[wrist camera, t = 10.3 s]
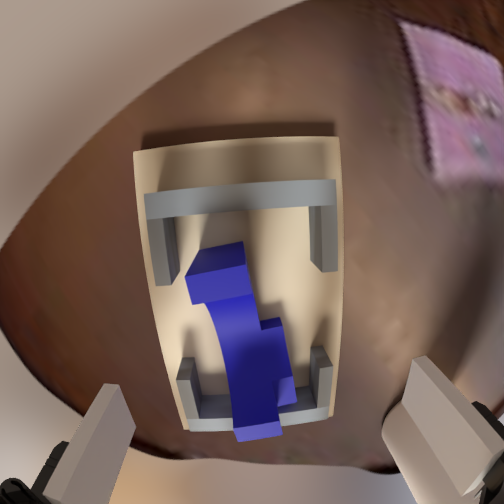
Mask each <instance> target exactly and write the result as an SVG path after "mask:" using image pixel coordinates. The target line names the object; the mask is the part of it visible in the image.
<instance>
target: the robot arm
mask: <svg viewBox="0 0 504 504" xmlns="http://www.w3.org/2000/svg"><path fill="white" fill-rule="evenodd" d="M401 403H402V404H403V406H404V407H405V409H406V410H407V412H408V413H409V415H410V416H411V418H412V419H413V421H414V422H415V424H416V425H417V427H418V428H419V430H420V432H421V433H422V435H423V436H424V438H425V439H426V441H427V442H428V444H429V446H430V447H431V449H432V450H433V452H434V453H435V455H436V457H437V458H438V460H439V461H440V463H441V465H442V466H443V468H444V469H445V471H446V473H447V474H448V476H449V477H450V479H451V481H452V482H453V484H454V486H455V487H456V489H457V491H458V492H459V494H460V496H463V495H465V494H467V493H468V492H470V491H472V490H473V489H475V488H476V487H477V486H478V485H479V483H480V482H481V481H482V480H483V482H484V483H485V484H484V485H483V487H482V488H481V489H480V490H479V491H478V492H477V493H476V495H475V497H474V499H476V498H477V497H478V496H479V495H480V494H481V496H480V498H479V499H480V501H479V504H504V426H503V424H502V423H501V422H500V421H498V420H497V418H496V417H495V416H494V415H492V412H491V411H490V410H489V409H488V408H487V407H486V406H485V405H483V404H481V403H479V402H477V401H475V402H473V403H470V402H469V401H468V400H467V399H466V397H465V396H464V395H463V394H462V393H461V392H460V391H459V390H458V389H457V388H456V387H455V386H454V384H453V383H452V382H451V381H450V380H449V379H448V378H447V377H446V376H445V375H444V374H443V373H442V372H441V371H440V370H439V369H438V368H437V366H436V365H435V364H434V363H433V362H432V361H431V360H430V359H429V358H428V357H427V356H426V355H425V356H421V357H417V358H414V359H412V363H411V368H410V372H409V376H408V380H407V384H406V387H405V391H404V395H403V398H402V402H401ZM135 428H136V426H135V423H134V421H133V419H132V416H131V414H130V412H129V409H128V407H127V404H126V402H125V400H124V397H123V394H122V392H121V389H120V387H119V385H115V384H104V385H103V387H102V388H101V390H100V391H99V393H98V395H97V396H96V398H95V400H94V401H93V403H92V405H91V406H90V408H89V410H88V411H87V413H86V415H85V417H84V418H83V420H82V422H81V424H80V425H79V427H78V429H77V430H76V432H75V434H74V436H73V437H72V439H71V441H70V443H69V442H65V441H62V442H61V443H59V444H58V445H57V446H56V447H54V449H53V451H52V452H51V454H50V456H49V458H48V459H47V461H46V463H45V465H44V466H43V468H42V470H41V472H40V473H39V475H38V477H37V479H36V481H35V483H34V484H33V486H32V488H31V489H29V488H28V487H27V486H26V485H25V484H24V483H23V482H22V481H21V480H19V479H16V478H9V479H7V480H5V481H4V482H3V483H1V485H0V504H108V503H109V500H110V497H111V494H112V491H113V489H114V486H115V483H116V480H117V477H118V474H119V471H120V469H121V466H122V463H123V460H124V457H125V455H126V452H127V449H128V447H129V444H130V441H131V439H132V436H133V433H134V431H135Z"/></svg>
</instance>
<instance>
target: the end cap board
mask: <svg viewBox="0 0 504 504" xmlns="http://www.w3.org/2000/svg"><path fill="white" fill-rule="evenodd" d="M133 158H134V173H135V186H136V197H137V207H138V217H139V225H140V233H141V241H142V248H143V255H144V262H145V268H146V274H147V280H148V286H149V291H150V297H151V302H152V307H153V312H154V317H155V322H156V327H157V331H158V336H159V340H160V344H161V349H162V353H163V357H164V361H165V365H166V369H167V373H168V376H169V380H170V384H171V387H172V391H173V394H174V398H175V401H176V405H177V408H178V411H179V415H180V418H181V421H182V424H183V427H184V429H190V431H228V430H233V417H232V406H231V398H230V391H229V385H228V379H227V374H226V369H225V364H224V359H223V355H222V351H221V347H220V343H219V340H218V336H217V333H216V330H215V327H214V324H213V321H212V318H211V316H210V313H209V311H208V309H207V307H206V306H205V304H204V303H202V304H196V305H192V303H191V299H190V296H189V292H188V288H187V285H186V281H185V277H184V276H185V275H186V273H187V271H188V269H189V267H190V265H191V264H192V262H193V260H194V258H195V256H196V255H197V253H198V251H199V250H201V249H206V248H211V247H215V246H220V245H225V244H230V243H235V242H240V241H243V244H244V249H245V254H246V259H247V263H248V268H249V273H250V278H251V283H252V287H253V292H254V297H255V302H256V307H257V311H258V316H259V321H261V320H266V319H271V318H276V317H280V319H281V322H282V325H283V330H284V335H285V340H286V346H287V351H288V356H289V360H290V365H291V370H292V374H293V380H294V386H295V392H296V398H297V402H296V403H292V404H287V405H282V406H277V408H278V413H279V418H280V423H281V426H285V425H293V424H300V423H306V422H312V421H318V420H324V419H328V417H329V416H333V410H334V402H335V394H336V385H337V375H338V365H339V353H340V340H341V325H342V305H343V273H344V226H343V193H342V174H341V158H340V145H339V137H327V136H298V137H265V138H246V139H232V140H220V141H209V142H200V143H191V144H183V145H175V146H167V147H161V148H154V149H148V150H141V151H136V152H133Z"/></svg>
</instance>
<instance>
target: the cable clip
mask: <svg viewBox="0 0 504 504" xmlns="http://www.w3.org/2000/svg"><path fill="white" fill-rule="evenodd" d="M184 277H185V281H186V285H187V288H188V292H189V296H190V299H191V303H192V305H196V304H202V303H204V304H205V306H206V307H207V309H208V311H209V313H210V316H211V318H212V321H213V324H214V327H215V330H216V333H217V336H218V340H219V343H220V347H221V351H222V355H223V359H224V364H225V369H226V374H227V379H228V385H229V391H230V398H231V406H232V417H233V430H234V432H235V435H236V438H237V440H238V442H242V441H249V440H255V439H262V438H267V437H273V436H278V435H283V434H282V429H281V423H280V418H279V413H278V408H277V406H282V405H287V404H292V403H296V402H297V398H296V392H295V386H294V380H293V374H292V370H291V365H290V360H289V356H288V351H287V346H286V340H285V335H284V330H283V325H282V322H281V319H280V317H276V318H271V319H266V320H261V321H259V316H258V311H257V307H256V302H255V297H254V292H253V287H252V283H251V278H250V273H249V268H248V263H247V259H246V254H245V249H244V244H243V241H240V242H235V243H230V244H225V245H220V246H215V247H211V248H206V249H201V250H199V251H198V253H197V255H196V256H195V258H194V260H193V262H192V264H191V265H190V267H189V269H188V271H187V273H186V275H185V276H184Z"/></svg>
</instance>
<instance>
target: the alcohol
mask: <svg viewBox="0 0 504 504" xmlns="http://www.w3.org/2000/svg"><path fill="white" fill-rule="evenodd" d="M401 402H402V400H401V401H399V402H398V403H397V404H396V405H395V406H394V407H393V408H392V409H391V410H390V412H389V413H388V414H387V416H386V418H385V420H384V423H383V427H382V438H383V440H384V442H385V443H386V445H387V447H388V449H389V451H390V453H391V455H392V456H393V458H394V460H395V462H396V464H397V466H398V468H399V469H400V471H401V473H402V475H403V477H404V479H405V481H406V482H407V484H408V486H409V488H410V490H411V492H412V494H413V496H414V498H415V500H416V502H417V504H479V501H480V499H479V498H480V496H481V494H480V495H479V496H478V497H477V498H476V499H474V497H475V495H476V493H477V492H478V491H479V490H480V489H481V488H482V487H483V485H484V484H485V483H484V482H483V480H482V481H481V482H480V483H479V485H478V486H477V487H476V488H475V489H473V490H472V491H470V492H468V493H467V494H465V495H463V496H460V494H459V492H458V491H457V489H456V487H455V486H454V484H453V482H452V481H451V479H450V477H449V476H448V474H447V473H446V471H445V469H444V468H443V466H442V465H441V463H440V461H439V460H438V458H437V457H436V455H435V453H434V452H433V450H432V449H431V447H430V446H429V444H428V442H427V441H426V439H425V438H424V436H423V435H422V433H421V432H420V430H419V428H418V427H417V425H416V424H415V422H414V421H413V419H412V418H411V416H410V415H409V413H408V412H407V410H406V409H405V407H404V406H403V404H402V403H401Z"/></svg>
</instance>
